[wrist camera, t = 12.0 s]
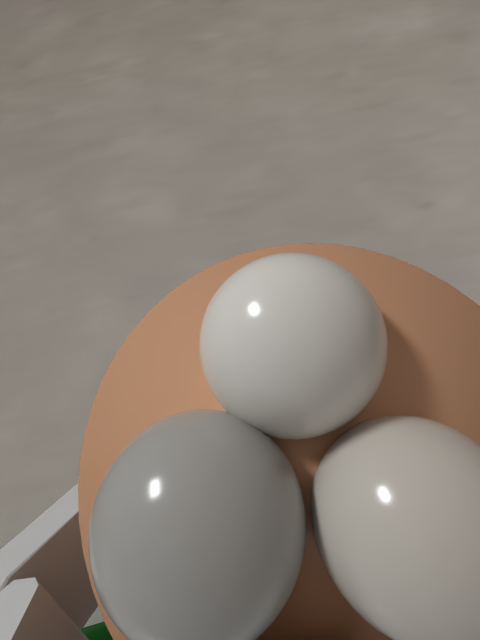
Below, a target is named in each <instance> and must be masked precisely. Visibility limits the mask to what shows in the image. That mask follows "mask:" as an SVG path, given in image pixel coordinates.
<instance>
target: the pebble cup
mask: <svg viewBox="0 0 480 640" xmlns="http://www.w3.org/2000/svg"><path fill="white" fill-rule="evenodd" d="M78 508H79V526H80V533H81V540H82V547H83V555H84V559H85V563H86V567H87V571H88V574H89V578H90V582H91V586H92V590H93V593H94V595H95V598H96V601H97V603H98V606H99V609H100V611H101V614H102V617H103V619H104V622H105V624H106V626H107V628H108V630H109V632H110V634H111V636H112V638H113V640H480V306H479V305H478V304H477V303H475V302H474V301H472V300H471V299H470V298H468V297H467V296H465V295H464V294H462V293H461V292H460V291H458V290H457V289H455V288H454V287H453V286H451V285H450V284H448V283H446V282H444V281H443V280H441V279H439V278H437V277H435V276H433V275H432V274H430V273H428V272H426V271H424V270H423V269H420V268H418V267H416V266H413V265H411V264H408V263H406V262H404V261H401V260H399V259H396V258H394V257H390V256H387V255H384V254H380V253H377V252H373V251H370V250H366V249H360V248H355V247H349V246H343V245H334V244H317V243H306V244H287V245H280V246H274V247H268V248H262V249H258V250H254V251H251V252H247V253H244V254H240V255H237V256H234V257H232V258H229V259H227V260H225V261H222V262H220V263H217V264H215V265H213V266H211V267H209V268H207V269H205V270H203V271H202V272H200V273H198V274H196V275H194V276H193V277H191V278H189V279H188V280H187V281H185V282H184V283H182V284H181V285H180V286H178V287H177V288H175V289H174V290H172V291H171V292H170V293H169V294H168V295H166V296H165V297H164V298H163V299H162V300H161V301H160V302H159V303H157V304H156V305H155V306H154V307H153V308H152V309H151V310H150V311H149V312H148V313H147V314H146V315H145V317H144V318H143V319H142V320H141V321H140V322H139V323H138V324H137V326H136V327H135V328H134V329H133V330H132V332H131V333H130V335H129V336H128V337H127V339H126V340H125V342H124V343H123V344H122V346H121V347H120V349H119V350H118V352H117V354H116V355H115V357H114V359H113V361H112V363H111V364H110V366H109V368H108V370H107V372H106V373H105V376H104V378H103V380H102V383H101V385H100V387H99V390H98V392H97V394H96V397H95V399H94V402H93V406H92V409H91V412H90V416H89V419H88V422H87V426H86V430H85V435H84V440H83V446H82V451H81V456H80V468H79V481H78Z"/></svg>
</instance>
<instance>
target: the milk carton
mask: <svg viewBox="0 0 480 640" xmlns="http://www.w3.org/2000/svg"><path fill="white" fill-rule="evenodd" d="M81 631H82V632H83V633H84V635H85V636H86V637H87V638H88V639H89V640H113V638H112V636H111V634H110V632H109V630H108V628H107V626H106V624H105V622H102V623H98V624H95V625H92V626H88V627H85V628H82V629H81Z"/></svg>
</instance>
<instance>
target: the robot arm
mask: <svg viewBox="0 0 480 640" xmlns="http://www.w3.org/2000/svg"><path fill="white" fill-rule="evenodd" d="M97 607H98V603H97V601H96V598H95V595H94V593H93V590H92V586H91V582H90V578H89V574H88V571H87V567H86V563H85V559H84V555H83V547H82V540H81V533H80V526H79V508H78V484H76V485H75V486H74V487H73V488H72V489H71V490H69V491H68V492H67V493H66V494H65V495H64V496H62V497H61V498H60V499H59V500H58V501H57V502H55V503H54V504H53V505H52V506H51V507H50V508H48V509H47V510H46V511H45V512H44V513H43V514H41V515H40V516H39V517H38V518H37V519H36V520H34V521H33V522H32V523H31V524H30V525H29V526H27V527H26V528H25V529H24V530H23V531H22V532H20V533H19V534H18V535H17V536H16V537H15V538H13V539H12V540H11V541H10V542H9V543H8V544H6V545H5V546H4V547H3V548H2V549H1V550H0V640H89V639H88V638H87V637H86V636H85V635H84V633H83V632H82V631H81V629H82V628H83V626H84V625H85V624H86V622H87V621H88V619H89V618H90V616H91V615H92V614H93V612H94V611H95V609H96V608H97Z"/></svg>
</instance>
